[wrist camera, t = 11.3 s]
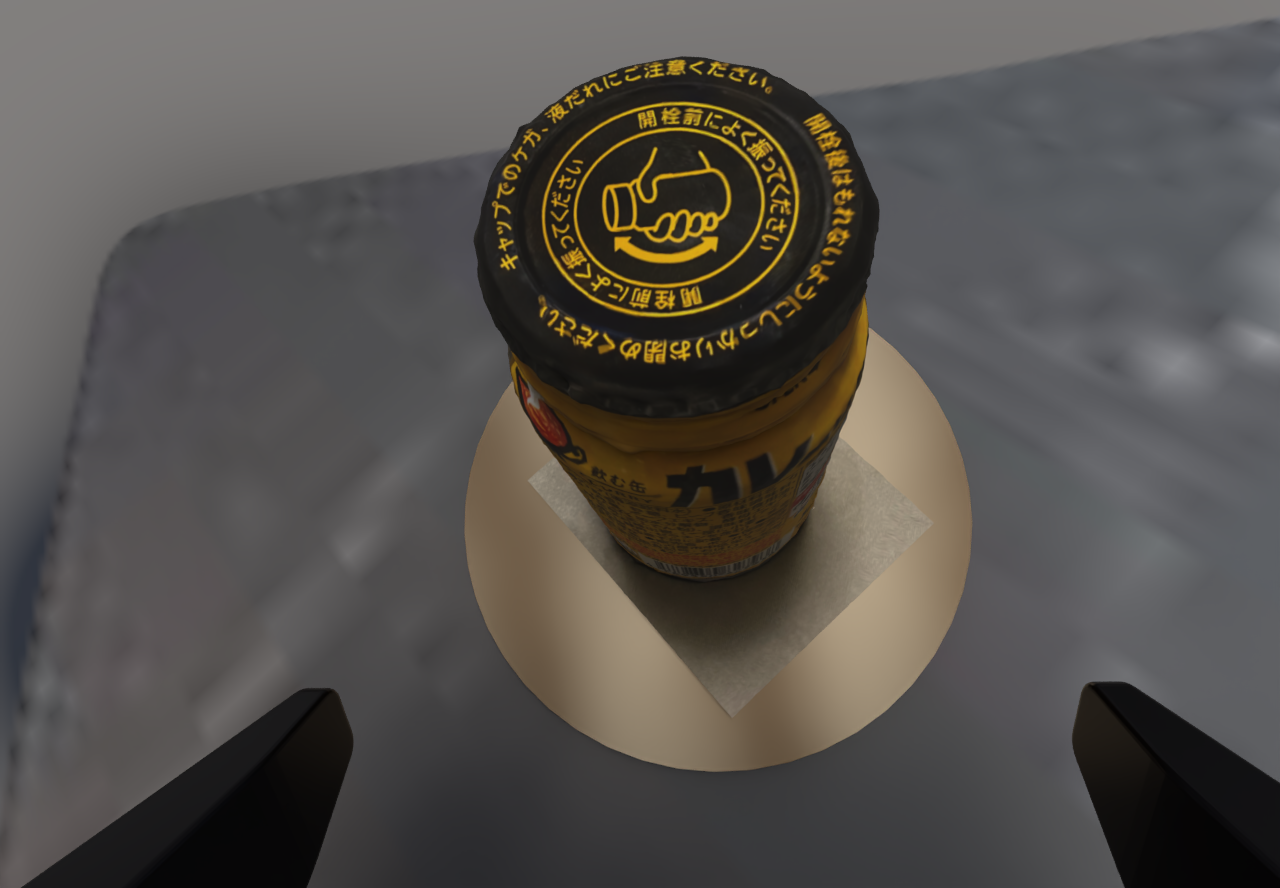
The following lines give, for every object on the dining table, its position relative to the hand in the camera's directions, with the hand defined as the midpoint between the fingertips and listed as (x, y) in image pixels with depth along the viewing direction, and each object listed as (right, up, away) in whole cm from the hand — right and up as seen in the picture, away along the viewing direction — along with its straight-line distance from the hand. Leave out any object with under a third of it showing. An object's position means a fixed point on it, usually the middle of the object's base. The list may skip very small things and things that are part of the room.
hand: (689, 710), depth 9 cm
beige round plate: (+1, +1, +12) cm, 12 cm away
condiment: (+2, +2, +11) cm, 12 cm away
